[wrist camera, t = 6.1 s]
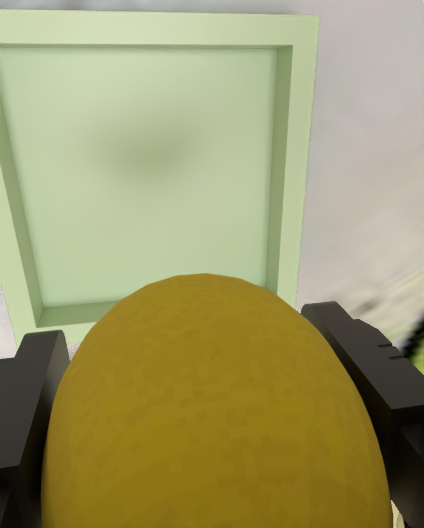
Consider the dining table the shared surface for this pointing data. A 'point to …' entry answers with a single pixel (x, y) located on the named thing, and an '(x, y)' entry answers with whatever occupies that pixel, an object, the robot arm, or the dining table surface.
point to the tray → (148, 155)
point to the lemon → (210, 419)
